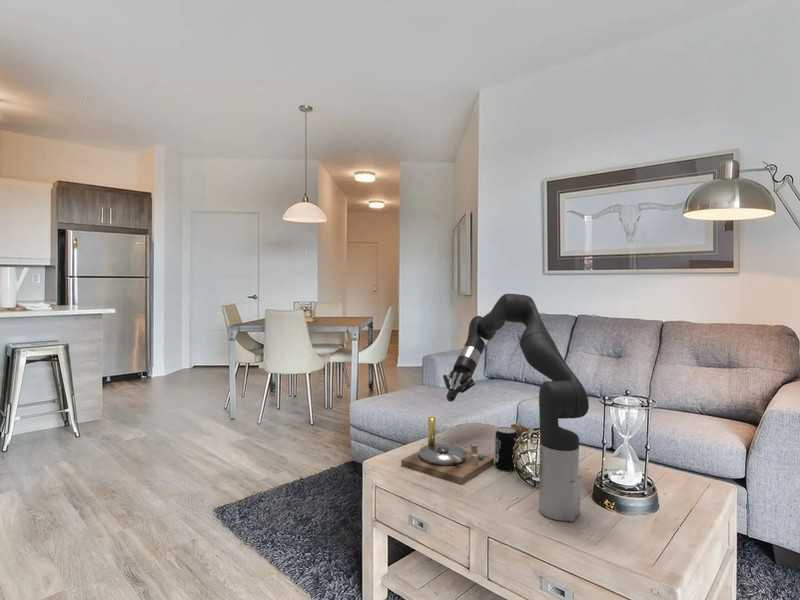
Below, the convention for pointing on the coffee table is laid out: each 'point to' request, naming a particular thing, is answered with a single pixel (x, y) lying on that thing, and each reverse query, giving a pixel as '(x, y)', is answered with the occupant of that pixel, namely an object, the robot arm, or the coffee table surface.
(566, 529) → the coffee table surface
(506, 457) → the beverage can
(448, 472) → the turntable
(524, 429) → the lion figurine
